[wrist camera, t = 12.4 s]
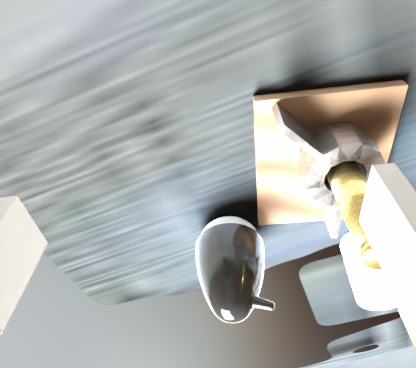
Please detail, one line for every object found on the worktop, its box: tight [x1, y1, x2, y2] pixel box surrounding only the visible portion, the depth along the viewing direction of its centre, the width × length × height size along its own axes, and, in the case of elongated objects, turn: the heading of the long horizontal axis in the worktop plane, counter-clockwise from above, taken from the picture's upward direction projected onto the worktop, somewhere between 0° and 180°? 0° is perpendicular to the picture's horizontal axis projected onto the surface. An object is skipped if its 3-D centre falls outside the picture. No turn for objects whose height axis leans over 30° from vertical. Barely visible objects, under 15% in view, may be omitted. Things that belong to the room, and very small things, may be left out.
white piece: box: [272, 103, 386, 239], centre depth 40 cm, size 18×12×5 cm, turn 7°
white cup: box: [340, 232, 399, 310], centre depth 50 cm, size 8×8×10 cm
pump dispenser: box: [195, 216, 275, 323], centre depth 46 cm, size 10×10×15 cm
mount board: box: [253, 80, 408, 225], centre depth 43 cm, size 20×16×2 cm
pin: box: [326, 161, 382, 269], centre depth 35 cm, size 4×4×16 cm
